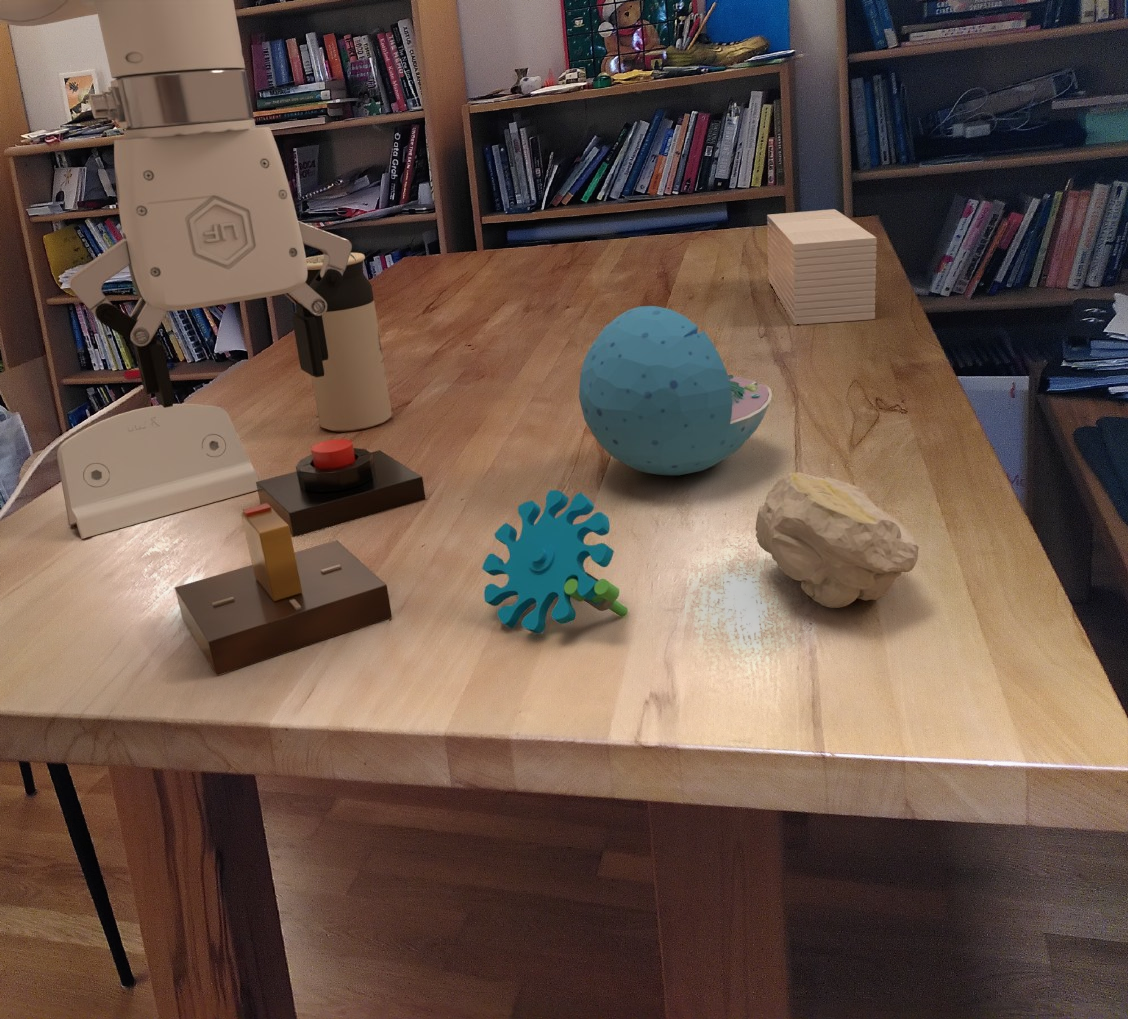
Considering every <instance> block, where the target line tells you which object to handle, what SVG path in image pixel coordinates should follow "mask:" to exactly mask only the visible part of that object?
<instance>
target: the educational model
mask: <svg viewBox="0 0 1128 1019" xmlns="http://www.w3.org/2000/svg"><path fill="white" fill-rule="evenodd" d="M698 331H699V326H698V325H697V324H696V323H695V322H693V321H692V320H690V319H689V318H688V317H686V316H685V315H684V314H681V313H679V312H678V311H675V310H673V309H671V308H666V307H661V306H657V305H645V306H643V305H642V306H637V307H634V308H630V309H628V310H626V311H624V312H623V313H621V314H619V315H617V317H615V319H613V320H611V321H610V322H609V323H608V324H607V325H605V326H604V328H603V329H602V330H601V331H600V333H599V335H598V336H597V337H596V339H595V340H594V342H593V343H592V344H591V346H590V348H589V350H588V351H587V353H586V355H585V357H584V359H583V363H582V366H581V367H582V368H581V369H580V374H579V375H580V376H579V388H578V398H579V403H580V407H581V411H582V416H583V419H584V422H585V424H586V425H587V427H588V428H589V430H590V432H591V433H592V435H593V437H594V438H595V440H596V442H597V443H598V445H600V446H601V448H603V449H604V450H605V451H606V452H607V453H608V454H609V455H610V456H611V457H612V458H613V459H616V460H617V461H619V462H620V463H622V464H624V465H626V466H628V467H629V468H631V469H634V470H636V471H638V472H641V473H647V474H651V475H659V476H677V477H679V476H682V475H688V474H693V473H698V472H704V471H705V470H707V469H709V468H712V467H714V466H715V465H717V464H718V463H720V462H722V461H724V460H725V459H727V458H728V457H730V456H731V455H733V454H735V453H736V452H737V451H739V449H740V448H742V447H743V445H744V444H745V443H746V442H747V441H748V440H749V439H750V437H752V435H753V434H754V433H755V432H756V431H757V429H758V428H759V426H760V424H761V423H762V421H763V420H764V418H765V415H766V414H767V411H768V408H769V405H770V403H771V401H772V398H773V393H772V390H771V387H769V386H768V385H766V384H758V381H755V380H752V379H749V378H746V377H741V376H734V375H733V374H728V371H727V369H726V366H725V363H724V362H723V360H722V358H721V355H720V353H719V351H718V350H717V348H716V347H715V344H714V343H713V341H712V340H711V339H710V337H709V336H708V334H707V333H706V331H705V330H704V331H703V330H702V331H699V332H698Z"/></svg>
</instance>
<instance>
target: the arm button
mask: <svg viewBox="0 0 1128 1019" xmlns="http://www.w3.org/2000/svg"><path fill="white" fill-rule="evenodd" d="M354 448H355V447H354V444H353V441H352V440H350V439H347V438H335V439H334V438H333V439H328V440H324V441H323V440H322V441H320V442H317V443H315V444H314V445H312V446H311V448H310V452H311V455H312V457H313V463H314V468H321V469H327V468H337V467H341V466H345V465H349V464H351V463H353V462H354V461H356V460H355V454H354Z"/></svg>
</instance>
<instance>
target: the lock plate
mask: <svg viewBox="0 0 1128 1019" xmlns="http://www.w3.org/2000/svg"><path fill="white" fill-rule="evenodd" d="M294 553H295V558H296V562H297V567H298V572H299V577H300V582H301V587H302V593H300V594H297V595H294V596H290V597H287V598H284V599H280V600H277V601H273V599H272V598H271V597H270V595H269V594H268V593H267V592H266V590H265V589H264V588H263V587H262V585H261V584H260V583H259V581H258V580H257V579H256V578H255V574H254V570H253V565H252V564H250V565H247V566H243V567H239V568H237V569H236V568H235V569H233V570H229V571H226V572H224V573H219V574H216V575H213V576H209V577H206V578H205V577H204V578H202V579H199V580H195V581H192V582H189V583H185V584H182V585H178V586H175V587H174V591H175V594H176V599H177V602H178V606H179V611H180V614H181V618H182V620H183V622H184V624H185V626H186V627H187V628H188V630H189V632H190V633H191V635H192V637H193V638H194V640H195V642H196V644H197V646H198V647H199V648H200V650H201V652H202V654H203V656H204V657H205V658H206V661H207V662H208V663H209V666H210V668H211V669H212V670H213V672H214V674H215V676H221V675H223V674H226V673H231V672H232V671H233V672H234V671H236V670H239V669H241V668H245V667H247V666H250V665H253V664H257V663H259V662H262V661H266V660H268V659H272V658H274V657H278V656H280V655H283V654H286V653H289V652H292V651H295V650H298V649H301V648H304V647H307V646H311V645H313V644H316V643H319V642H323V641H325V640H328V639H331V638H334V637H337V636H340V635H343V634H346V633H349V632H352V631H355V630H358V629H361V628H364V627H367V626H369V625H372V624H373V625H374V624H376V623H379V622H383V621H385V620H388V619H390V618H391V619H392V618H393V613H392V608H391V601H390V597H389V596H390V595H389V591H388V584H386V583H385V582H384V581H383V580H382V579H381V578H380V577H379V576H377V575H376V574H375V572H373V571H372V570H371V569H369V567H367V566H366V565H365V564H364V563H363V562H362V561H361V560H360V559H359V558H358V557H356V556H355V555H354V554H353V553H352V552H351V551H350V550H349V549H347V548H346V547H345V546H344V545H343V544H342V543H340V541H338V540H337V539H336V540H332V541H328V542H325V543H322V544H318V545H316V546H312V547H309V548H305V549H301V550H298V551H294Z"/></svg>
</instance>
